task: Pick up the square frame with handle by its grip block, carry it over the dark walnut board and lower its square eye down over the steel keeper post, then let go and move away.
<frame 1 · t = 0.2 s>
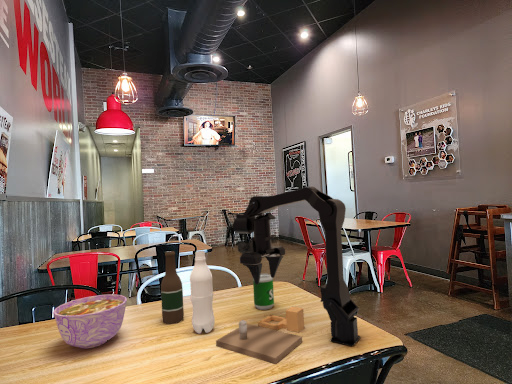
hand: (265, 280, 107), 14 cm above the table, tool pointing down, fingers open, 9 cm apart
square frame with handle: (295, 328, 100), on the table
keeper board: (259, 343, 91), on the table
soda can: (264, 307, 122), on the table
water bottle: (203, 331, 103), on the table
beer bottle: (173, 321, 113), on the table
bowl of food: (93, 343, 98), on the table
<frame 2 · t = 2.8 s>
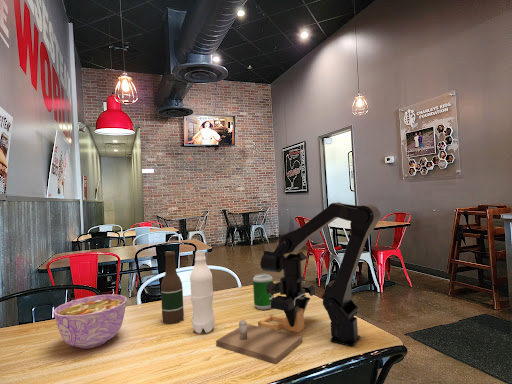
hand: (295, 323, 100), 2 cm above the table, tool pointing down, fingers closed on square frame with handle, 4 cm apart
square frame with handle: (295, 328, 100), on the table, touching gripper
everything else where it was.
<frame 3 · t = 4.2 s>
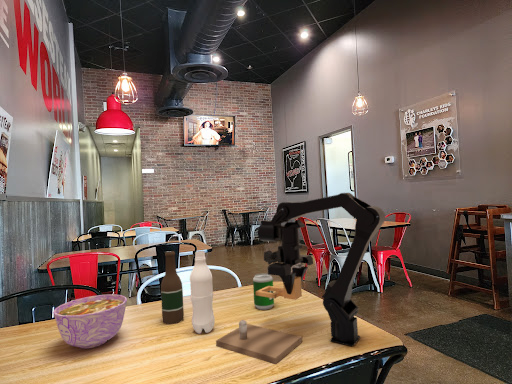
hand: (292, 292, 100), 11 cm above the table, tool pointing down, fingers closed on square frame with handle, 4 cm apart
square frame with handle: (293, 297, 100), point 10 cm above the table, touching gripper
everything else where it was.
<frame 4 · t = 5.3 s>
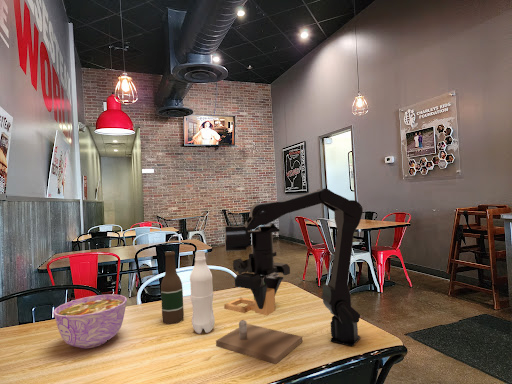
hand: (265, 306, 88), 12 cm above the table, tool pointing down, fingers closed on square frame with handle, 4 cm apart
square frame with handle: (265, 311, 88), point 10 cm above the table, touching gripper
everything else where it was.
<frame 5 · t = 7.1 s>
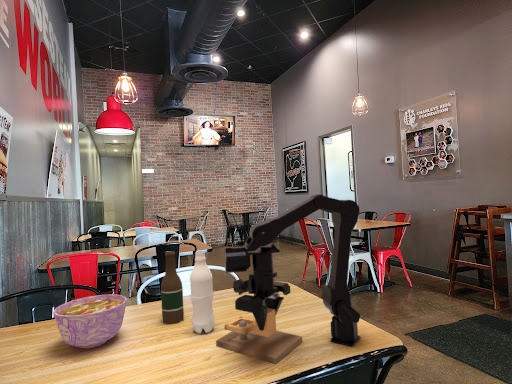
hand: (266, 327, 87), 6 cm above the table, tool pointing down, fingers closed on square frame with handle, 4 cm apart
square frame with handle: (266, 332, 87), point 5 cm above the table, touching gripper
everything else where it was.
when the fingers open (4 cm above the table, at t = 8.3 s): square frame with handle stays where it is, resting on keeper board.
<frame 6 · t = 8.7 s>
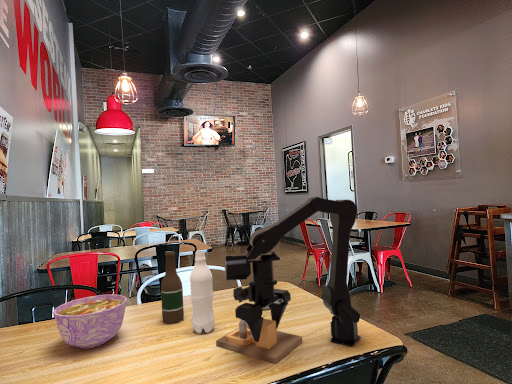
hand: (266, 335, 87), 4 cm above the table, tool pointing down, fingers open, 9 cm apart
square frame with handle: (266, 344, 87), point 1 cm above the table, touching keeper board
everything else where it was.
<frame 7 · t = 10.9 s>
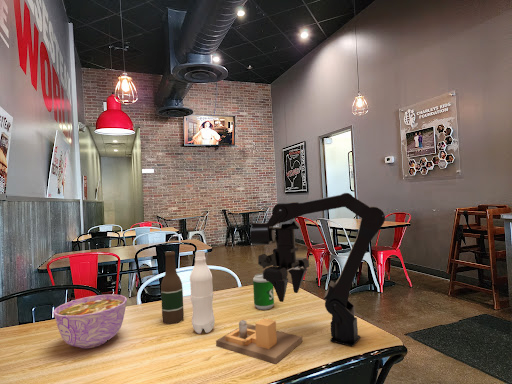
hand: (289, 297, 96), 11 cm above the table, tool pointing down, fingers open, 9 cm apart
nothing on the table moved.
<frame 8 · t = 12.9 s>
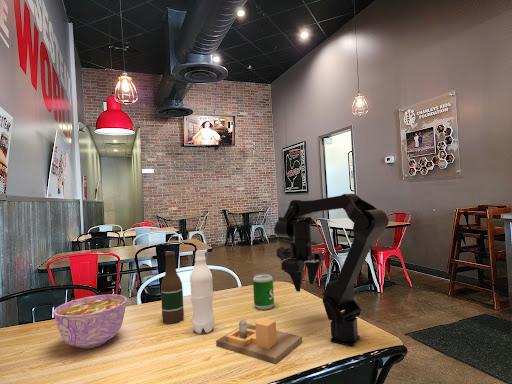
hand: (305, 287, 102), 12 cm above the table, tool pointing down, fingers open, 9 cm apart
nothing on the table moved.
at the end: square frame with handle 0.0 cm from the target spot on the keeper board, point 1.5 cm above the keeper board's base; square frame with handle tilted 0°; the gripper is holding nothing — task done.
